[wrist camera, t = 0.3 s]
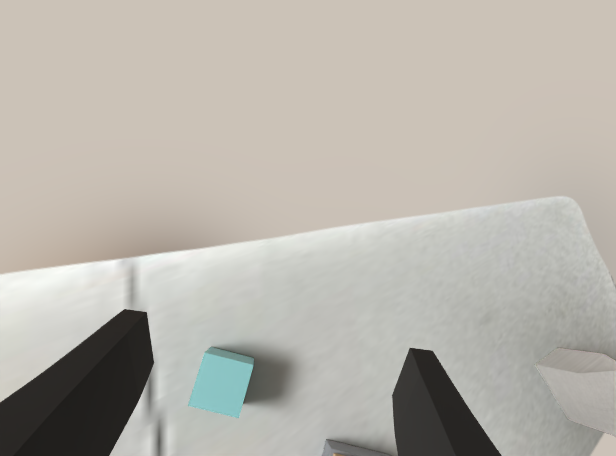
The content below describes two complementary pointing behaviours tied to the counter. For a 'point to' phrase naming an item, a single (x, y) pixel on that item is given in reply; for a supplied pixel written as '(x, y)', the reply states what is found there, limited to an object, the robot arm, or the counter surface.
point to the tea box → (583, 386)
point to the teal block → (222, 382)
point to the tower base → (347, 450)
